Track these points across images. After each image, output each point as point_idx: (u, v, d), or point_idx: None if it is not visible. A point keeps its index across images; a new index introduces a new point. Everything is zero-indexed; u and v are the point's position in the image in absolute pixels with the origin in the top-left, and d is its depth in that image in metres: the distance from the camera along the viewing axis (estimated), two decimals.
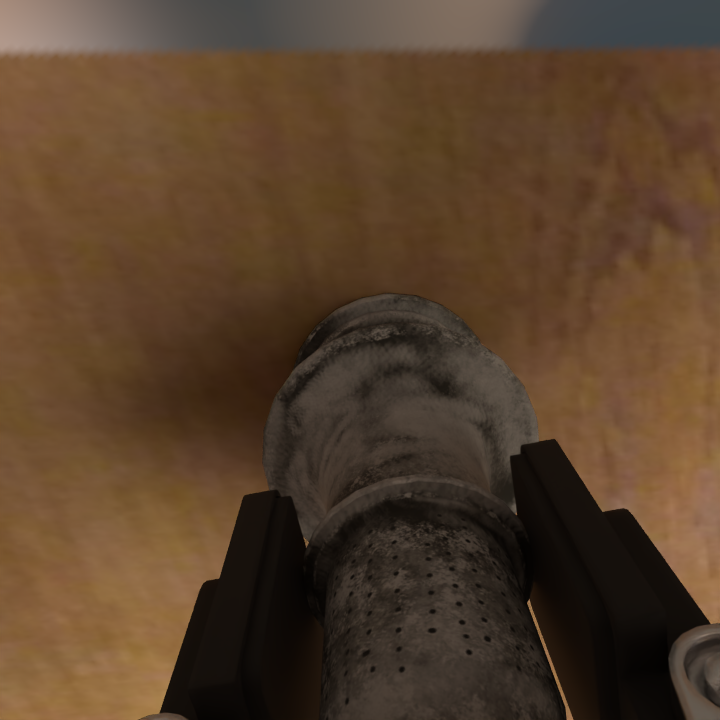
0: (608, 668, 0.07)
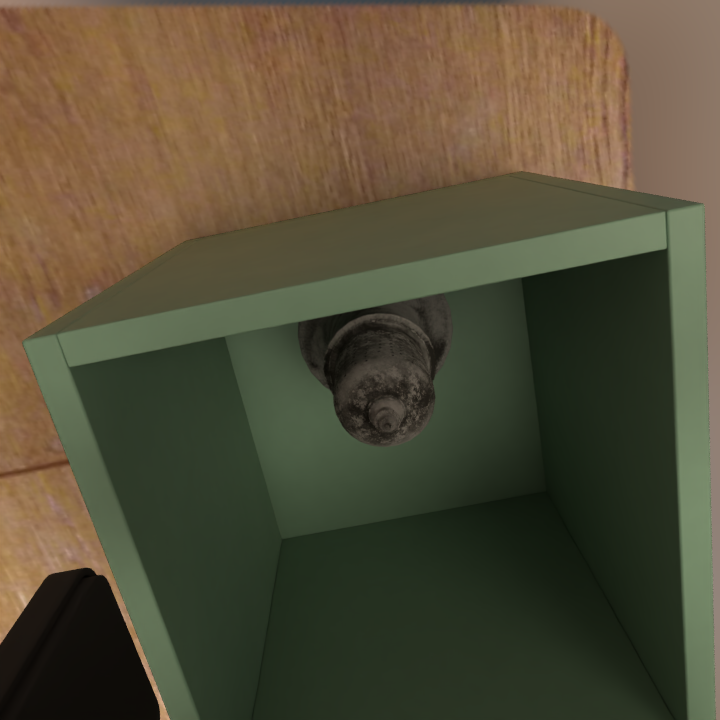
0: None
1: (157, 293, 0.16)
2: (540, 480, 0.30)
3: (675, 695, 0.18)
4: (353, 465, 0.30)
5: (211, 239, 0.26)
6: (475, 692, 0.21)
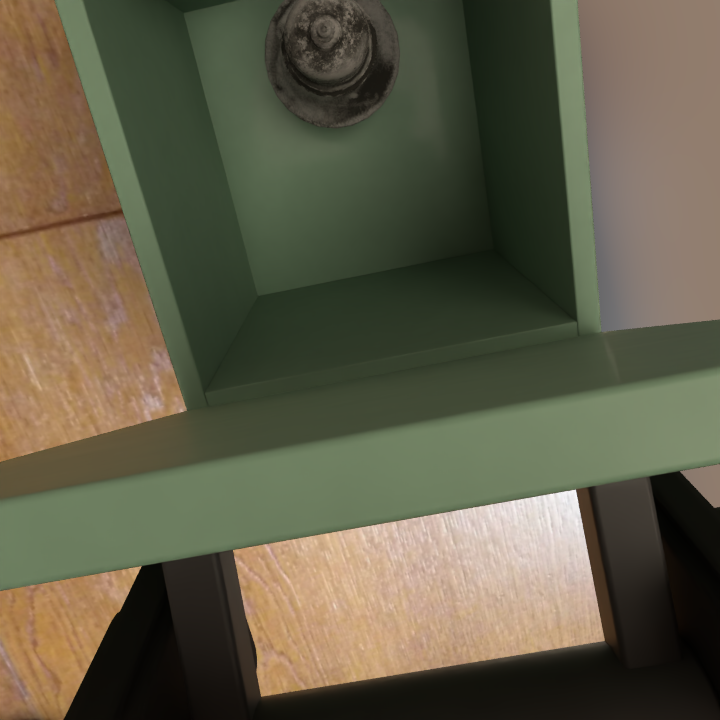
0: None
1: None
2: (487, 238, 0.34)
3: (568, 287, 0.22)
4: (320, 221, 0.34)
5: None
6: (410, 327, 0.24)
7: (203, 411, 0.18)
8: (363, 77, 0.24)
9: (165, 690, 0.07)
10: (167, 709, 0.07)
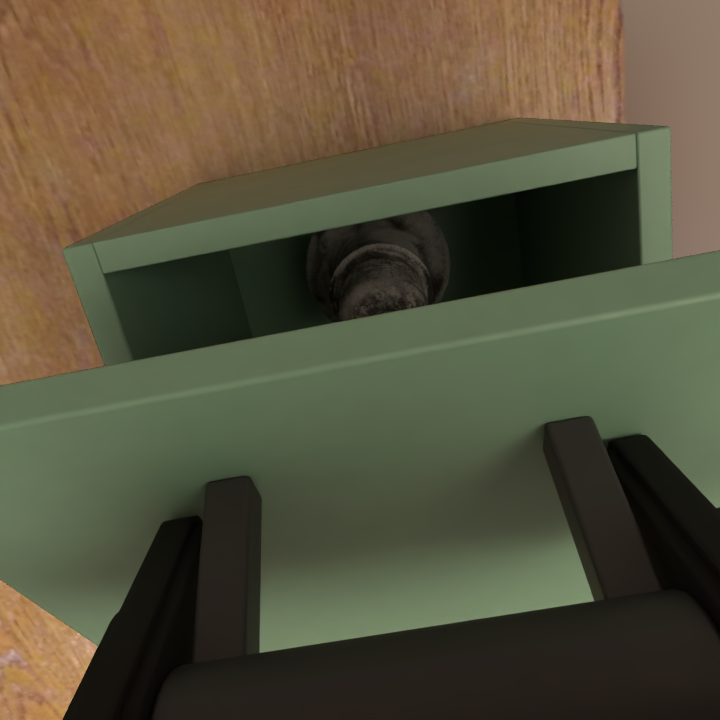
0: None
1: (179, 214, 0.18)
2: None
3: None
4: None
5: (224, 180, 0.27)
6: None
7: None
8: None
9: None
10: None
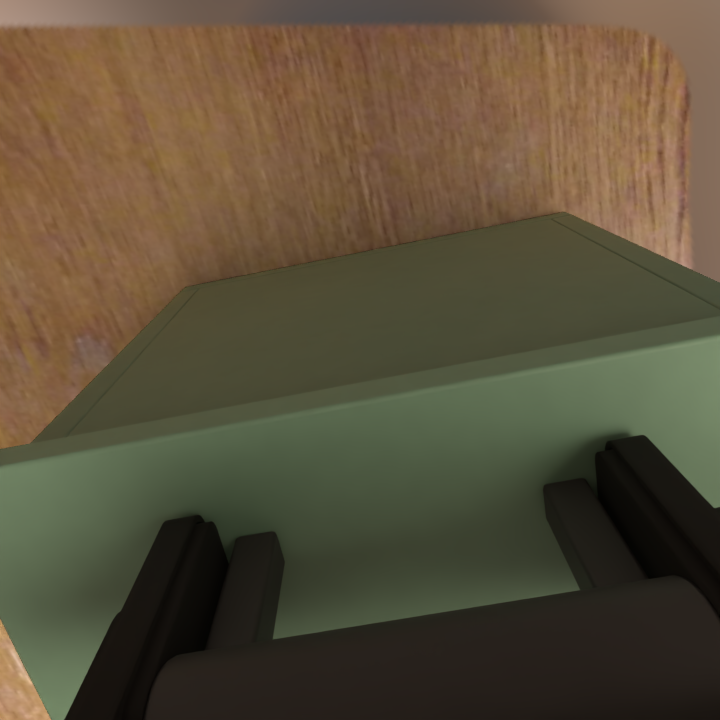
0: None
1: (149, 408, 0.13)
2: None
3: None
4: None
5: (214, 290, 0.23)
6: None
7: None
8: None
9: None
10: None
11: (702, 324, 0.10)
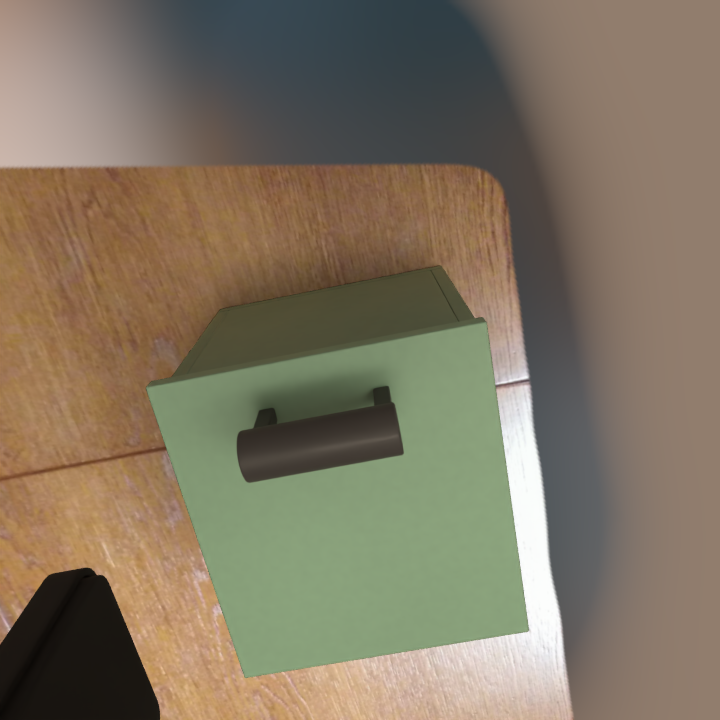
0: None
1: (218, 367, 0.30)
2: None
3: None
4: None
5: (238, 311, 0.40)
6: None
7: None
8: None
9: None
10: None
11: (428, 328, 0.27)
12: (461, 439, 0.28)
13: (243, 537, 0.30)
